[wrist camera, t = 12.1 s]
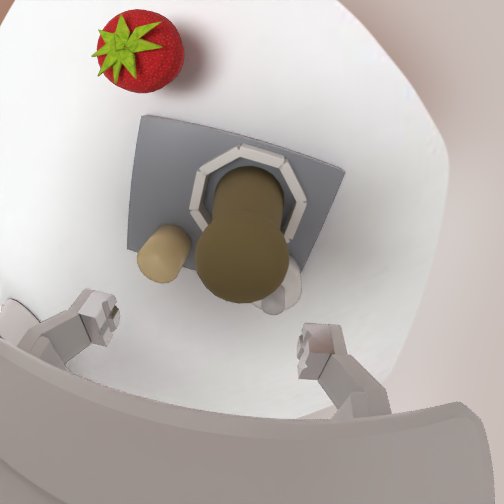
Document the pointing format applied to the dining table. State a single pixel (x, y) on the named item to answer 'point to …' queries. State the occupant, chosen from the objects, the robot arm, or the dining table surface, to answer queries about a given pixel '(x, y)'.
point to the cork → (244, 237)
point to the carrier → (202, 194)
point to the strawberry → (140, 51)
